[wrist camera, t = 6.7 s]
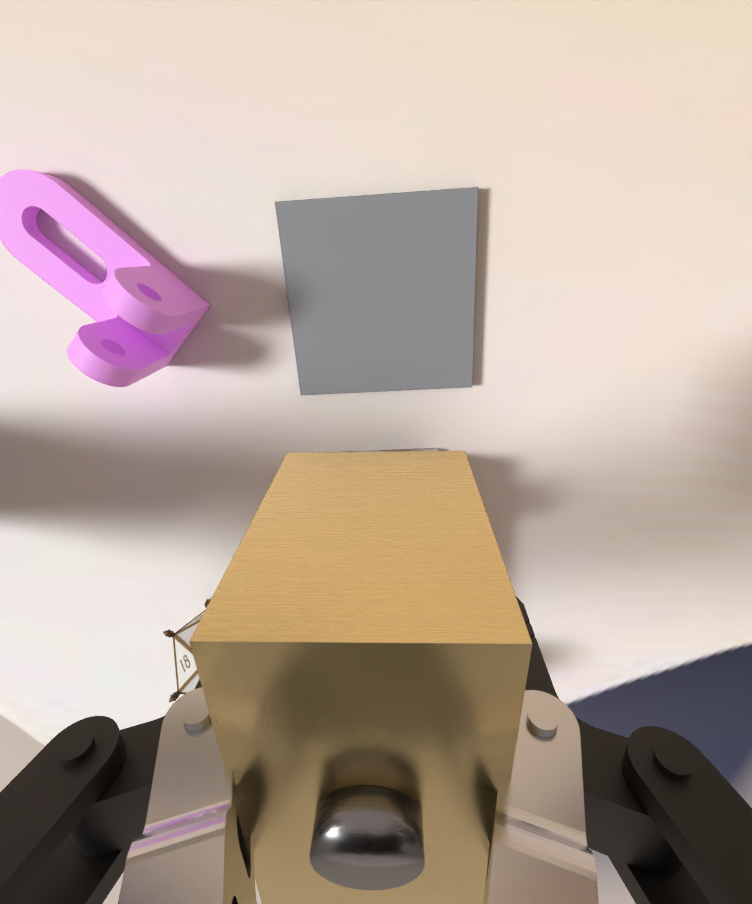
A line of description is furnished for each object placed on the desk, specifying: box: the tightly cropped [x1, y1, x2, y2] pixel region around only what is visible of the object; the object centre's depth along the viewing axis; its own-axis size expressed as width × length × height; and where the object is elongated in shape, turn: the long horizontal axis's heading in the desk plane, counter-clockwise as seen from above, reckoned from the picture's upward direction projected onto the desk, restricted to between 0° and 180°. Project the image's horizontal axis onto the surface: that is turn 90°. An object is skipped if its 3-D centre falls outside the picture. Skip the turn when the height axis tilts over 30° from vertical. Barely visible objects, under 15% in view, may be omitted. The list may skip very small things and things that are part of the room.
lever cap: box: [189, 451, 532, 904], centre depth 10 cm, size 4×8×7 cm, turn 2°
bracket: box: [0, 170, 211, 387], centre depth 26 cm, size 13×6×7 cm, turn 47°
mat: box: [275, 187, 478, 395], centre depth 29 cm, size 12×12×1 cm
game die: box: [163, 600, 210, 702], centre depth 38 cm, size 9×8×10 cm
